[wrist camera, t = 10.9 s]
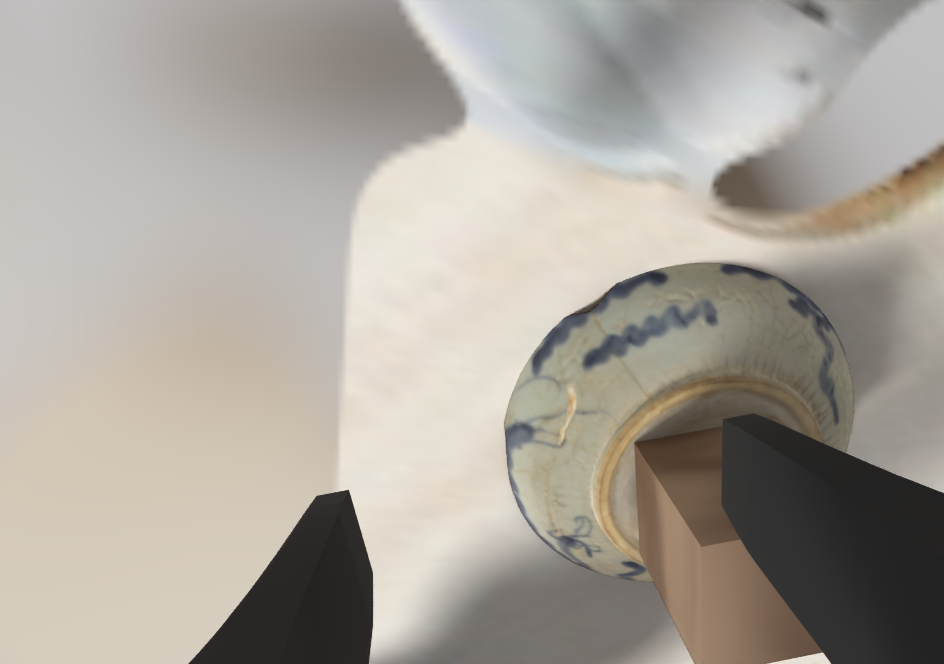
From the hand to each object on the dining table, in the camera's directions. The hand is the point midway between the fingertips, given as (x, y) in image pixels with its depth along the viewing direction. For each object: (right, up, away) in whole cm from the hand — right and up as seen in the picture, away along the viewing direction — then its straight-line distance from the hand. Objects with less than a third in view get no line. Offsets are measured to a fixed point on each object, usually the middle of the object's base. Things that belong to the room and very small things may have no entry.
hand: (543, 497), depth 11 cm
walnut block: (+7, -2, +10) cm, 12 cm away
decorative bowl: (+7, -1, +13) cm, 15 cm away
